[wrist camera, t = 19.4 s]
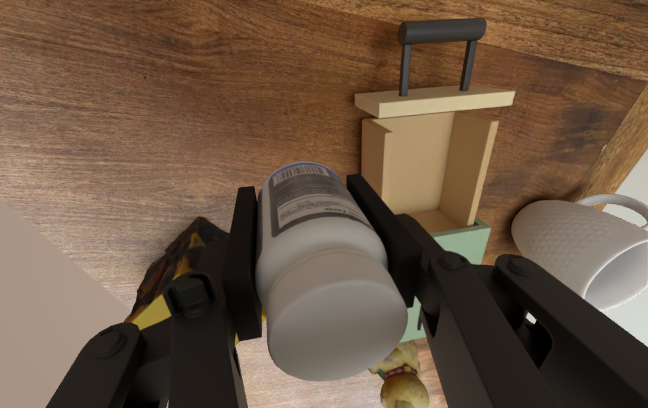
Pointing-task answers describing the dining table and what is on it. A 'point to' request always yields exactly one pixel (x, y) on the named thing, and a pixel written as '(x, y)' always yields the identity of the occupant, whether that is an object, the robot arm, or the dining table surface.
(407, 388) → the decorative figurine
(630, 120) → the dining table surface
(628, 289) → the mug
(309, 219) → the pill bottle
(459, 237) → the cabinet
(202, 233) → the candle
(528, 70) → the dining table surface
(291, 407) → the dining table surface
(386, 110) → the drawer
